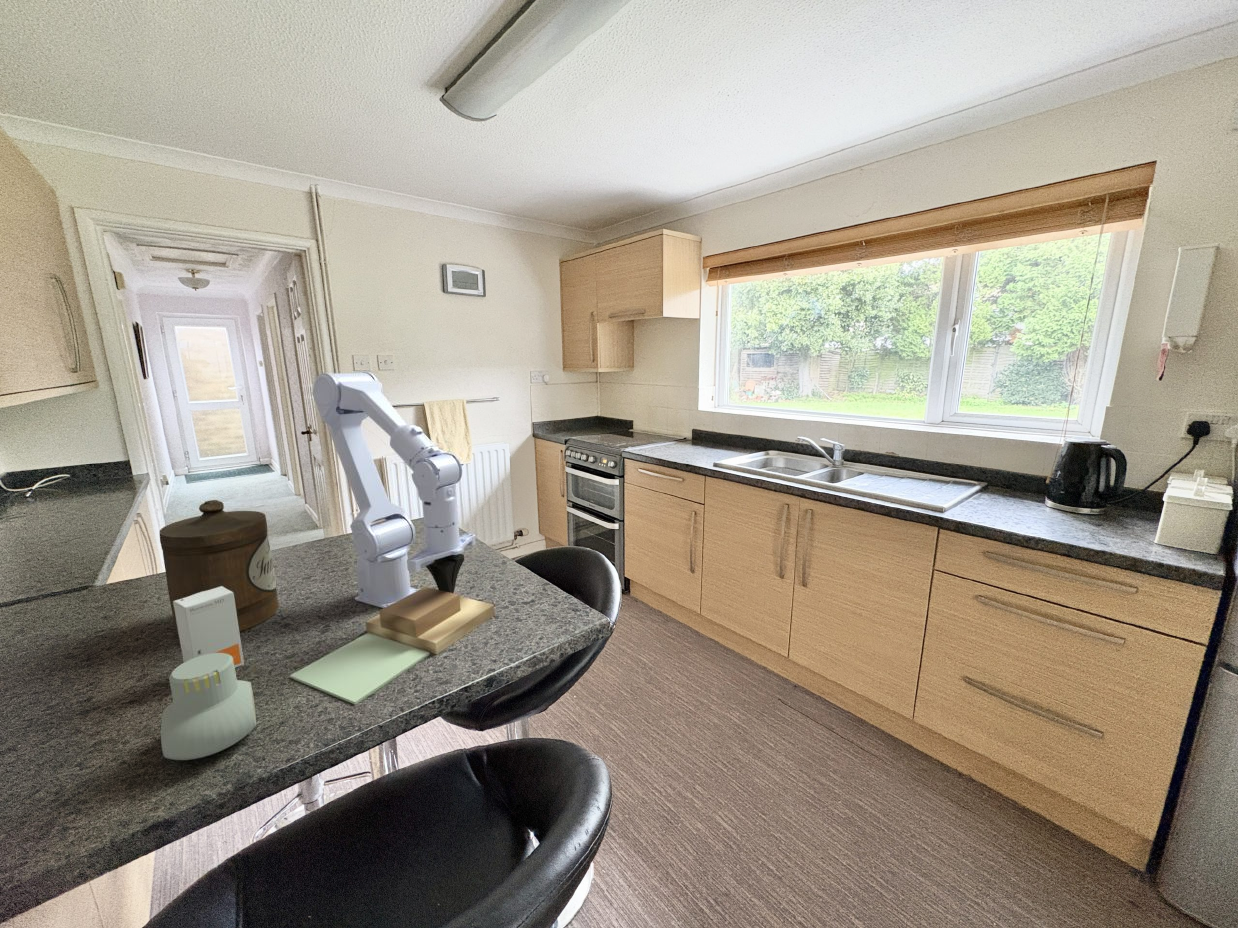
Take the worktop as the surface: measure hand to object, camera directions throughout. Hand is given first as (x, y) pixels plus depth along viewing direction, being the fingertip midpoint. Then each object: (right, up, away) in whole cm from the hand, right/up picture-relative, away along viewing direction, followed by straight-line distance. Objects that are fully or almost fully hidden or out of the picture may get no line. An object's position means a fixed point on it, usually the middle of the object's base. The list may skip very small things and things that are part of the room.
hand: (446, 594), depth 91 cm
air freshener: (-18, -10, -30) cm, 36 cm away
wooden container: (-39, -4, 0) cm, 39 cm away
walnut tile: (-3, -3, -5) cm, 6 cm away
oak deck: (-2, -4, -3) cm, 5 cm away
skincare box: (-29, -7, -16) cm, 34 cm away
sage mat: (-8, -7, -15) cm, 18 cm away
